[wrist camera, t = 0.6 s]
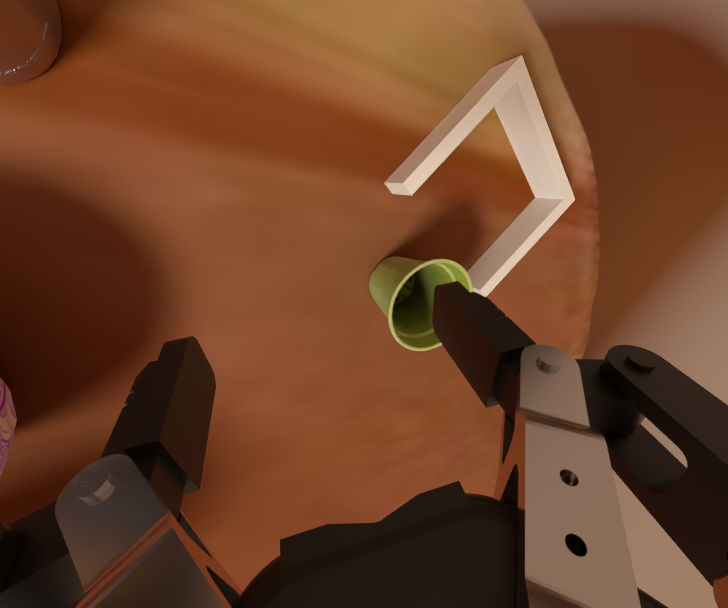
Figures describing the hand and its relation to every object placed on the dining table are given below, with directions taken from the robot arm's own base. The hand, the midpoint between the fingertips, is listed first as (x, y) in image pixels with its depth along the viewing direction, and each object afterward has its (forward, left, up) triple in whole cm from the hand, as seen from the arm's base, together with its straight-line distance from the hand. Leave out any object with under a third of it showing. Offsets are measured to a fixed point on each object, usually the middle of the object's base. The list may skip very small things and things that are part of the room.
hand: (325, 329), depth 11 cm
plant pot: (+15, +6, -22) cm, 28 cm away
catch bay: (+15, +20, -22) cm, 33 cm away
